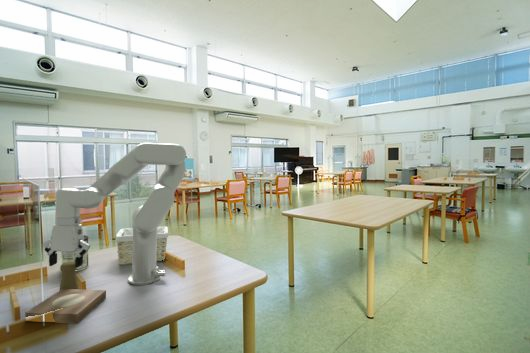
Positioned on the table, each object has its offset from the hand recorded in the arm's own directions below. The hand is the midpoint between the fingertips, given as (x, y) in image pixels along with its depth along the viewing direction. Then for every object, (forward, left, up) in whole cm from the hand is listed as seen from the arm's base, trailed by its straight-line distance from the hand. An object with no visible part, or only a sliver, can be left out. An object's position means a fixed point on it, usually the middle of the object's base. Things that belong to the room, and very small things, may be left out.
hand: (65, 265), depth 107 cm
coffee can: (+11, -22, -10) cm, 27 cm away
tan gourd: (-1, 0, -10) cm, 10 cm away
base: (-10, +13, -10) cm, 19 cm away
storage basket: (-14, -37, -10) cm, 41 cm away
